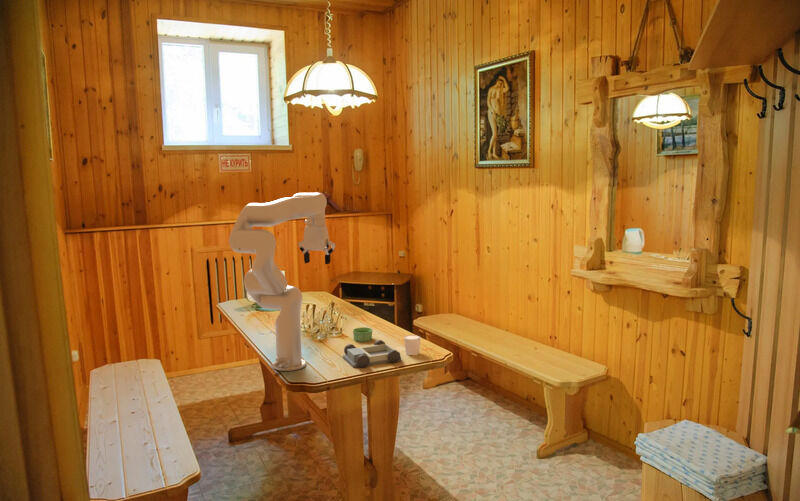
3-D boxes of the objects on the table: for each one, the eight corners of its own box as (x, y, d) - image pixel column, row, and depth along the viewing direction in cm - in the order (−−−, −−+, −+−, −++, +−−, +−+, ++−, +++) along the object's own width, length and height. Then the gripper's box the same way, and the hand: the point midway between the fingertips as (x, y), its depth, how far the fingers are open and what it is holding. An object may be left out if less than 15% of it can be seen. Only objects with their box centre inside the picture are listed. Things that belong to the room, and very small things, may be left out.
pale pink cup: (419, 356, 225) (419, 339, 224) (402, 355, 226) (402, 339, 226) (421, 351, 232) (421, 335, 231) (405, 350, 233) (405, 334, 232)
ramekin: (359, 343, 244) (359, 333, 243) (349, 338, 251) (348, 329, 251) (376, 339, 249) (376, 330, 249) (365, 335, 256) (365, 326, 256)
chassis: (355, 369, 211) (354, 357, 210) (341, 356, 226) (341, 345, 225) (403, 361, 219) (402, 349, 218) (386, 349, 234) (386, 338, 233)
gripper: (293, 223, 230) (294, 263, 232) (330, 223, 224) (331, 265, 226) (302, 221, 237) (303, 261, 239) (338, 222, 231) (339, 263, 233)
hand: (317, 263), depth 233 cm, fingers open, 9 cm apart
